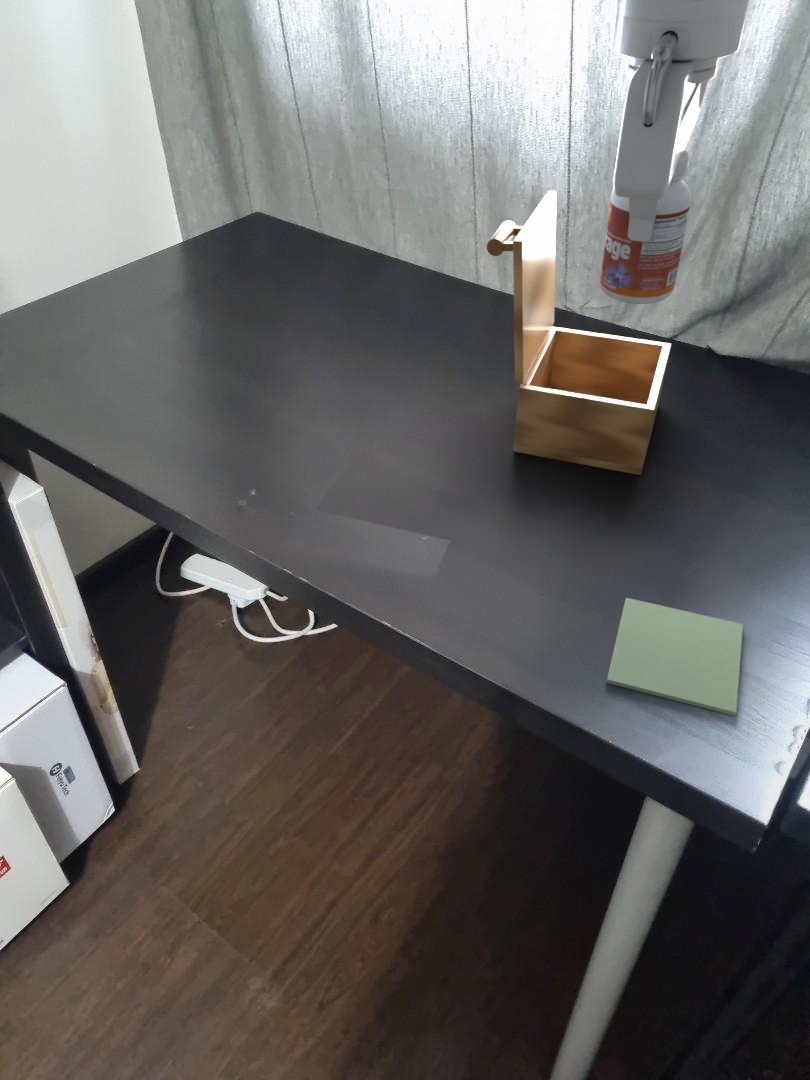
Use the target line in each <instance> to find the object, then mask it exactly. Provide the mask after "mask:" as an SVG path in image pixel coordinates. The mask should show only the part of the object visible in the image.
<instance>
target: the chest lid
mask: <svg viewBox="0 0 810 1080" xmlns="http://www.w3.org/2000/svg"><path fill="white" fill-rule="evenodd" d="M556 233H557V191H556V190H548V191H547V193H546V194H544V196H543V198H542V199H541V201H540V202H539V203H538V205H537V206H536V207H535V209H534V211H533V212H532V213H531V215H530V217H529V218H528V219H527V220H526V222H525V224H524V225H516V223H515V222H514V221H512V220H510V219H509V220H505V221H503V222H502V223H501V224H500V226H499V227H498V229H497V230H496V231H495V232H494V233H493V235H492V236H491V237H490V239H489V240H488V242H487V243H486V251H487V253H488V254H489V255H491V256H492V257H498V256H500V255H502V254H503V252H512V261H513V262H512V265H513V266H512V267H513V268H512V269H513V271H512V272H513V273H512V274H513V325H514V326H513V328H514V329H513V330H514V332H513V333H514V383H516V384H521V383H522V384H523V383H524V381H525V379H526V377H527V375H528V373H529V371H530V369H531V367H532V365H533V363H534V361H535V359H536V357H537V355H538V353H539V351H540V349H541V347H542V345H543V343H544V341H545V339H546V337H547V335H548V333H549V331H550V329H551V327H553V326H554V323H555V305H556V303H555V301H556V299H555V298H556V296H555V295H556V242H557V241H556V239H557V237H556V236H557V235H556ZM514 237H515V238H514ZM513 238H514V239H513Z"/></svg>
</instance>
